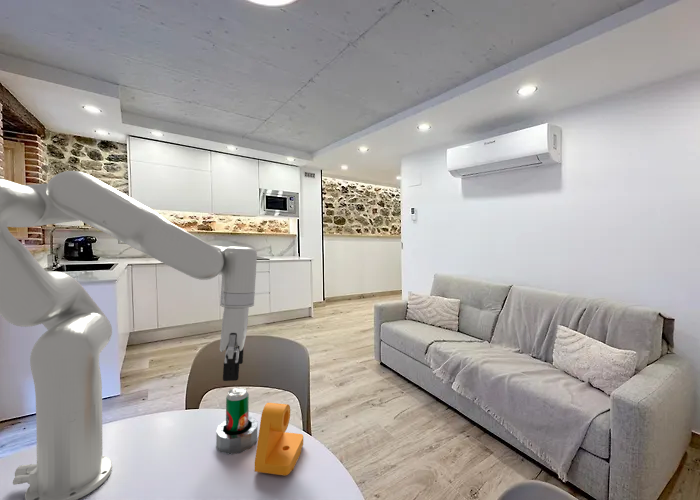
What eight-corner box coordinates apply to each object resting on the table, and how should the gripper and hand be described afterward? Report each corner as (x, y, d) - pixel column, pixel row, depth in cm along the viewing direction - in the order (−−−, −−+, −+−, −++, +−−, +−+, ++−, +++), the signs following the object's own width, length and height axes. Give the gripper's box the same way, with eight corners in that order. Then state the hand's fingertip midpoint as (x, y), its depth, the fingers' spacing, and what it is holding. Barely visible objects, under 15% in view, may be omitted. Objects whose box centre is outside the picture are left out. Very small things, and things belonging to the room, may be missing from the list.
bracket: (288, 480, 62) (289, 421, 62) (254, 475, 64) (254, 417, 63) (304, 445, 73) (304, 395, 73) (275, 442, 74) (275, 392, 74)
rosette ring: (213, 456, 69) (213, 441, 69) (220, 432, 78) (220, 418, 77) (256, 450, 71) (256, 435, 71) (258, 427, 80) (258, 414, 80)
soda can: (241, 449, 71) (241, 397, 71) (221, 446, 72) (221, 395, 72) (252, 435, 76) (252, 387, 76) (233, 433, 77) (233, 385, 77)
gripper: (226, 293, 81) (222, 358, 81) (213, 305, 64) (208, 388, 64) (256, 293, 83) (252, 358, 83) (251, 306, 66) (247, 387, 66)
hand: (233, 371), depth 73 cm, fingers open, 9 cm apart
